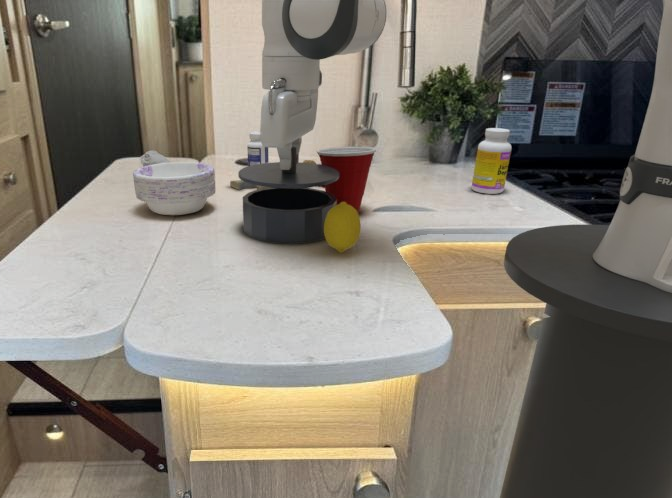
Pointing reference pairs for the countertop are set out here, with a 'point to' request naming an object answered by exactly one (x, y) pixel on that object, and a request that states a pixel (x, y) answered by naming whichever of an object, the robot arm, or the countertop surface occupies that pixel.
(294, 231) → the pot
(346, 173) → the plastic cup
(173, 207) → the paper bowls
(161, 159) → the frog figurine
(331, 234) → the lemon
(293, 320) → the countertop surface
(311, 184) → the lid
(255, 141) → the pill bottle
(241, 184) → the toy food set
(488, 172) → the supplement bottle
